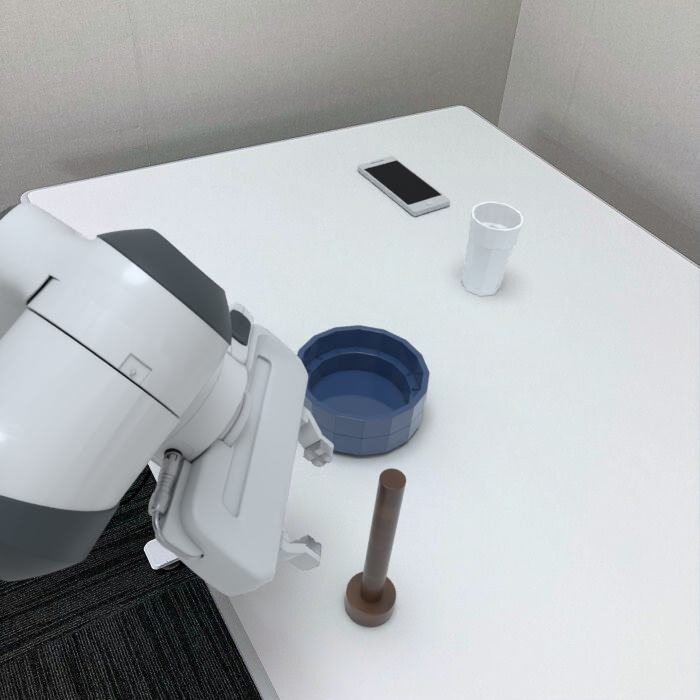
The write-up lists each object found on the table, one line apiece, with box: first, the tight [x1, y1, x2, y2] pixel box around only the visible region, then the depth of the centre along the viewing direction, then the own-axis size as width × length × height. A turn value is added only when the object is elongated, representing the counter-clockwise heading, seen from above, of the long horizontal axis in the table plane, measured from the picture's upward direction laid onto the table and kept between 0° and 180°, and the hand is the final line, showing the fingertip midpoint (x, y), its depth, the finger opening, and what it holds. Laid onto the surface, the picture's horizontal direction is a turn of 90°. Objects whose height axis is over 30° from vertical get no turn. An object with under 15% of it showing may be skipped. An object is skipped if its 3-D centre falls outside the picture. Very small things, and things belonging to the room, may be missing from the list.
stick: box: [344, 467, 407, 628], centre depth 63 cm, size 4×4×18 cm
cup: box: [461, 201, 525, 297], centre depth 102 cm, size 7×7×11 cm
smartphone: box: [357, 155, 451, 217], centre depth 122 cm, size 7×15×1 cm, turn 34°
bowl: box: [296, 324, 431, 456], centre depth 85 cm, size 14×14×6 cm
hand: (321, 505), depth 58 cm, fingers open, 8 cm apart
